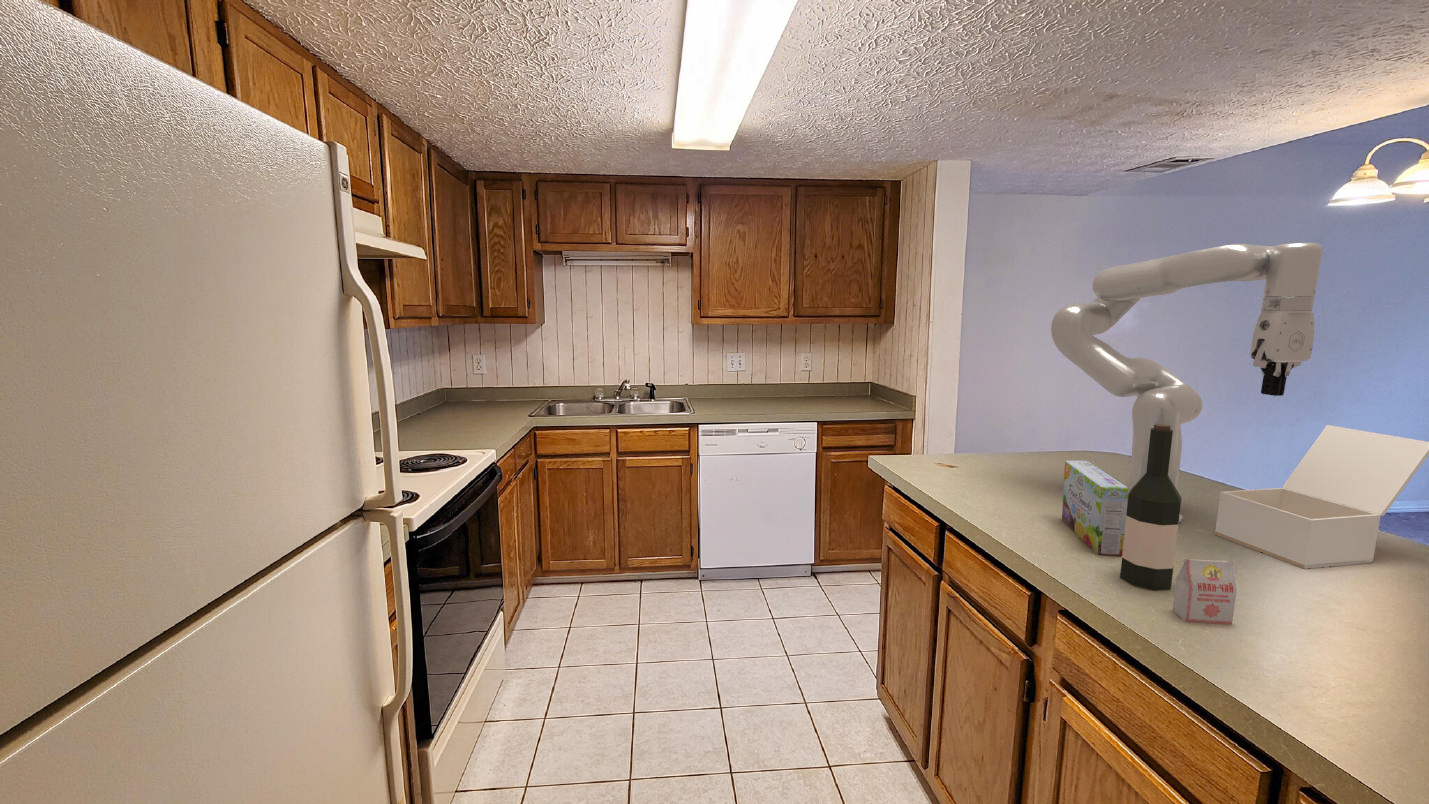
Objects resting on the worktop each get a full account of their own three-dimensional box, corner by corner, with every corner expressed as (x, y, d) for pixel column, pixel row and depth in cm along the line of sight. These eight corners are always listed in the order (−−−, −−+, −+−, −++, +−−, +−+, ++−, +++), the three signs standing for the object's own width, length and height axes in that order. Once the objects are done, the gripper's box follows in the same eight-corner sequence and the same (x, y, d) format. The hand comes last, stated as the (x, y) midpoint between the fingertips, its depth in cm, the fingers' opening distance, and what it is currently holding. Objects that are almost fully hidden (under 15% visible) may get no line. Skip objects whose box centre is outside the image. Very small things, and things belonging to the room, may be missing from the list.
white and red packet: (1172, 610, 101) (1178, 554, 100) (1217, 613, 100) (1224, 557, 98) (1185, 621, 98) (1192, 564, 96) (1232, 624, 96) (1239, 566, 95)
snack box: (1058, 519, 144) (1063, 459, 142) (1084, 521, 143) (1089, 460, 140) (1095, 555, 123) (1101, 485, 121) (1125, 557, 122) (1132, 487, 120)
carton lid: (1433, 442, 115) (1436, 444, 115) (1327, 424, 133) (1329, 426, 133) (1380, 514, 116) (1383, 516, 116) (1281, 487, 134) (1284, 489, 134)
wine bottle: (1158, 595, 106) (1176, 431, 101) (1109, 576, 114) (1124, 423, 109) (1182, 584, 110) (1201, 426, 105) (1134, 567, 117) (1149, 419, 112)
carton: (1304, 569, 116) (1311, 520, 114) (1214, 534, 133) (1220, 491, 132) (1372, 563, 118) (1380, 515, 116) (1275, 529, 135) (1281, 487, 134)
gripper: (1277, 306, 115) (1262, 399, 118) (1338, 305, 118) (1321, 396, 121) (1237, 305, 122) (1224, 393, 126) (1295, 305, 125) (1280, 390, 128)
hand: (1271, 394), depth 123 cm, fingers closed
